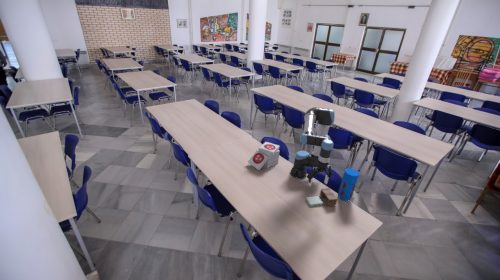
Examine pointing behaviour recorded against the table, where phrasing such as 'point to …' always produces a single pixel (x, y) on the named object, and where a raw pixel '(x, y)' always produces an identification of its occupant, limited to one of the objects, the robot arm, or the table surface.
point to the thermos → (348, 184)
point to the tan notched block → (329, 196)
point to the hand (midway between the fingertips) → (317, 184)
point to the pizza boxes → (265, 156)
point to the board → (314, 201)
